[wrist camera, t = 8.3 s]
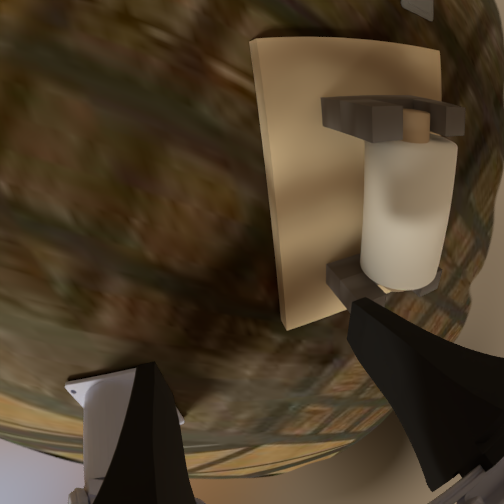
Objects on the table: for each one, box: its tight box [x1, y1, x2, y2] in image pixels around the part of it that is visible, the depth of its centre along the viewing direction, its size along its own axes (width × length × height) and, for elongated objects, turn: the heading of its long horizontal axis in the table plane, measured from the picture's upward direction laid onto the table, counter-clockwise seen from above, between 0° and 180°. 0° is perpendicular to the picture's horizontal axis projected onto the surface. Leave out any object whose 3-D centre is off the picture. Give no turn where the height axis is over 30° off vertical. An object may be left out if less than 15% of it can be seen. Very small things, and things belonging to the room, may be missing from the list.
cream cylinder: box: [360, 108, 458, 292], centre depth 16 cm, size 11×5×5 cm
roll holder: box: [249, 37, 465, 331], centre depth 17 cm, size 19×13×6 cm
